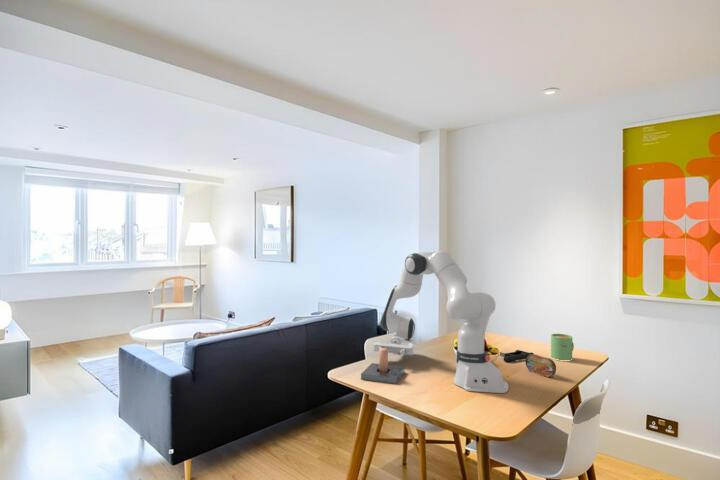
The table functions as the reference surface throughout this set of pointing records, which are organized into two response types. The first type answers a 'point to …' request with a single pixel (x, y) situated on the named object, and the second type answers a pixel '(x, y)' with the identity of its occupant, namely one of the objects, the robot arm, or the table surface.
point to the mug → (561, 346)
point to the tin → (540, 365)
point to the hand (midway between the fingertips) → (389, 352)
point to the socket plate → (383, 374)
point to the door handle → (515, 356)
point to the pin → (383, 360)
